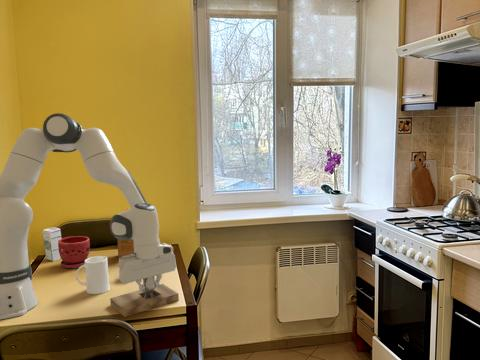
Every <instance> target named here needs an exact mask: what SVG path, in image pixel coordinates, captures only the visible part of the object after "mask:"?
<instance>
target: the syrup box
mask: <svg viewBox="0 0 480 360" xmlns="http://www.w3.org/2000/svg"><path fill="white" fill-rule="evenodd" d="M42 234H43V235H42V237H43V245H44V246H43V247H44V255H45V260H47V261H50V262H56V261H59V260H62V259H61V257H60V254H59V248H58V241H59V240H60V239H62V232H61V228H59V227H58V228H57V227H55V226H53V227H48V228H44V229H42Z"/></svg>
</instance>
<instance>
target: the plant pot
mask: <svg viewBox="0 0 480 360" xmlns="http://www.w3.org/2000/svg"><path fill="white" fill-rule="evenodd" d="M90 247H91V243H90V238H89V237H88V236H85V235H84V236H83V235H77V236H75V235H74V236H67V237H63V238H62V237H61V239H60V240H59V241H58V248H59V254H60V257H61V259H60V260H62V261H60V265H61V267H63V268H65V269H78V268H79V267H80V266H82V265H84V264H85V260H86V259H87V258H89V257H88V256H89V254H90V249H91V248H90Z"/></svg>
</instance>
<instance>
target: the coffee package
mask: <svg viewBox="0 0 480 360" xmlns="http://www.w3.org/2000/svg"><path fill="white" fill-rule="evenodd" d="M129 209H130V208H126V209H125V211H127V210H129ZM133 253H134V241H133V239H126V240H119V239H117V256H118V260H119V259H120V258H121V257H122V256H124V255H129V254H133ZM122 259H123V258H122Z"/></svg>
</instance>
